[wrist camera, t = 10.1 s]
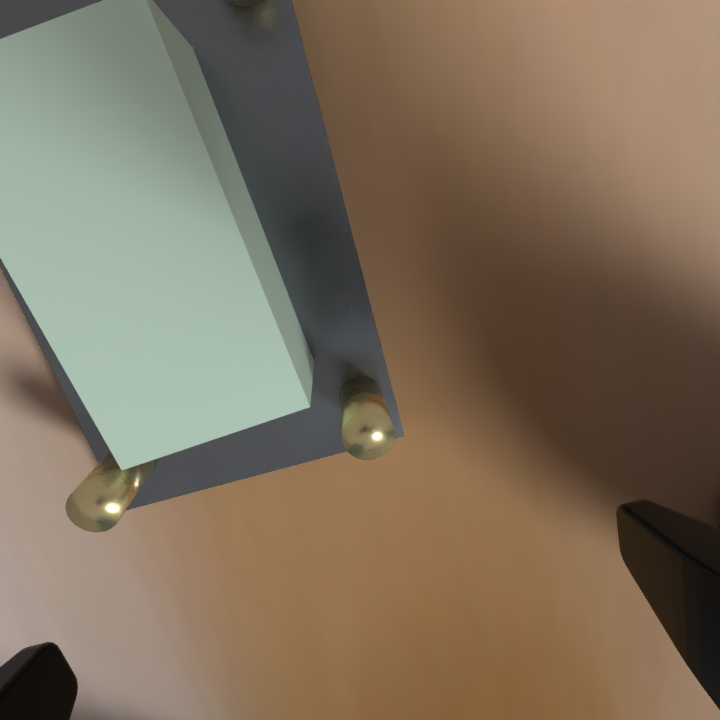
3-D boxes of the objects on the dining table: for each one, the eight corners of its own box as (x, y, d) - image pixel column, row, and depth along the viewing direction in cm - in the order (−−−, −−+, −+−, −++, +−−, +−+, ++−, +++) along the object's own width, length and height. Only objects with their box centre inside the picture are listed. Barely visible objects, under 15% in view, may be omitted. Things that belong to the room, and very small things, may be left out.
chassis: (263, -102, 13) (238, -223, 10) (400, 424, 19) (418, 479, 15) (-105, 5, 14) (-272, -73, 10) (132, 495, 19) (84, 568, 15)
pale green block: (193, 48, 14) (140, -14, 10) (314, 361, 17) (310, 407, 13) (15, 113, 14) (-103, 77, 10) (168, 411, 17) (121, 470, 13)
